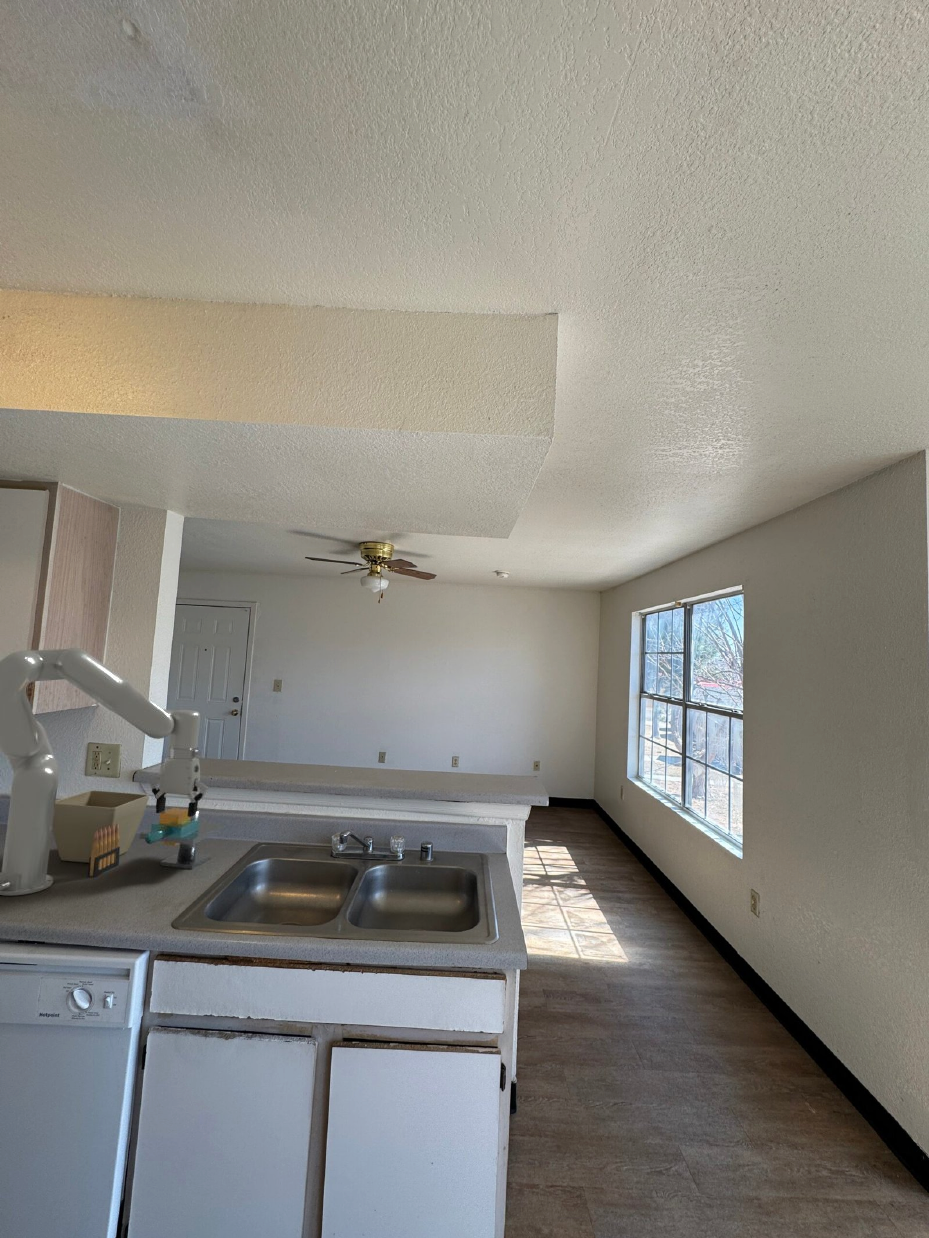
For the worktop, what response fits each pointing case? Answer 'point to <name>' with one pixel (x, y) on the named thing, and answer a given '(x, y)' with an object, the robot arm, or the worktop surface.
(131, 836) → the flower pot
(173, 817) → the tan t-shaped peg
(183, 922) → the worktop surface
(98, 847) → the ammunition clip
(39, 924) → the worktop surface
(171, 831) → the teal meat grinder
